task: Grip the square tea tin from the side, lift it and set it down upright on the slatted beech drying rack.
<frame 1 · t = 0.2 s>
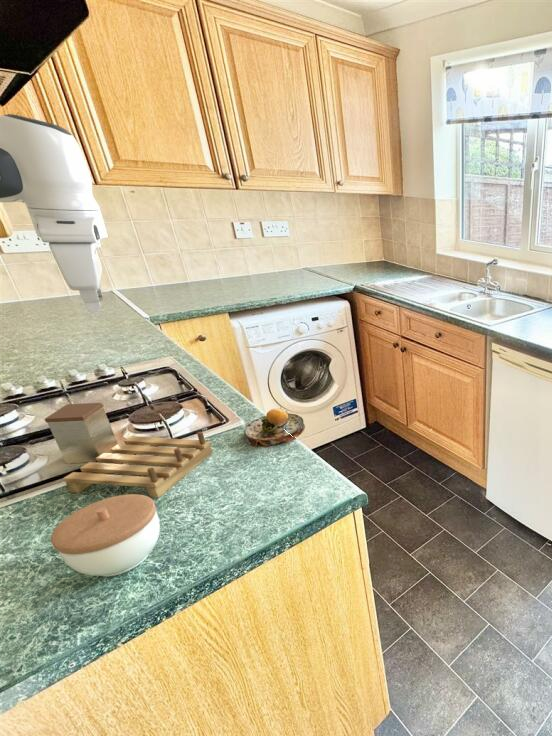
hand: (96, 305, 78), 29 cm above the counter, tool pointing down, fingers open, 8 cm apart
rack: (147, 471, 80), on the counter
trinket box: (124, 560, 61), on the counter
open sandwich: (276, 433, 94), on the counter
tea tin: (93, 454, 83), on the counter
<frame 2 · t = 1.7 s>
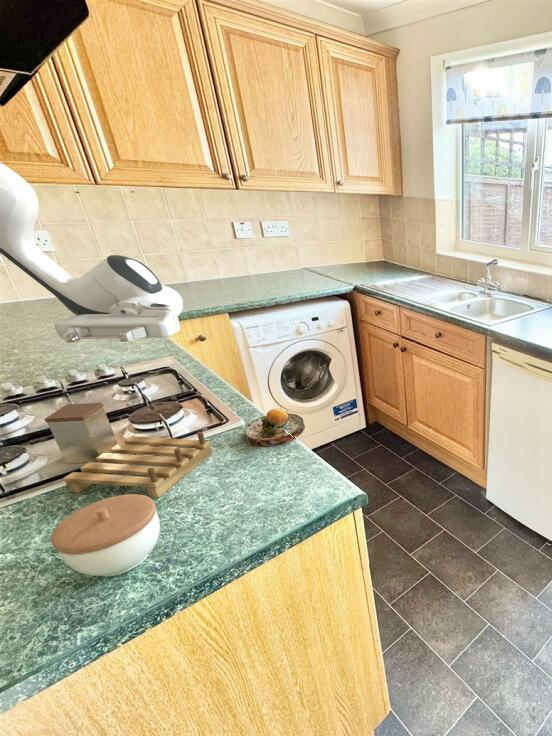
hand: (96, 338, 85), 20 cm above the counter, tool horizontal, fingers open, 8 cm apart
nothing on the counter moved.
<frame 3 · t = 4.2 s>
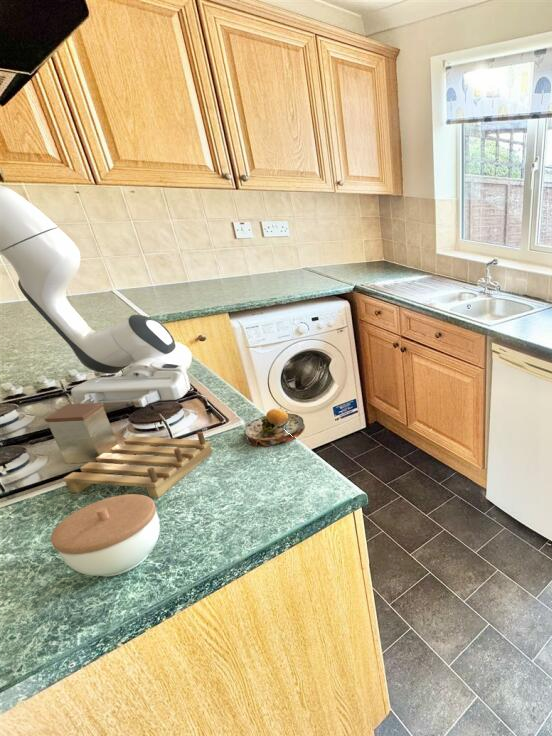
hand: (112, 405, 89), 6 cm above the counter, tool horizontal, fingers open, 8 cm apart
nothing on the counter moved.
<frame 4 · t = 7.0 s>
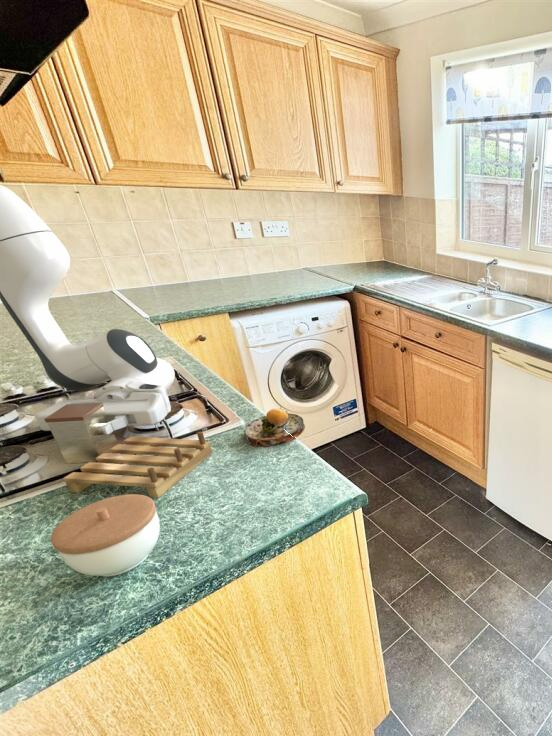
hand: (80, 433, 80), 6 cm above the counter, tool horizontal, fingers closed on tea tin, 5 cm apart
tea tin: (93, 454, 83), on the counter, touching gripper
everything else where it was.
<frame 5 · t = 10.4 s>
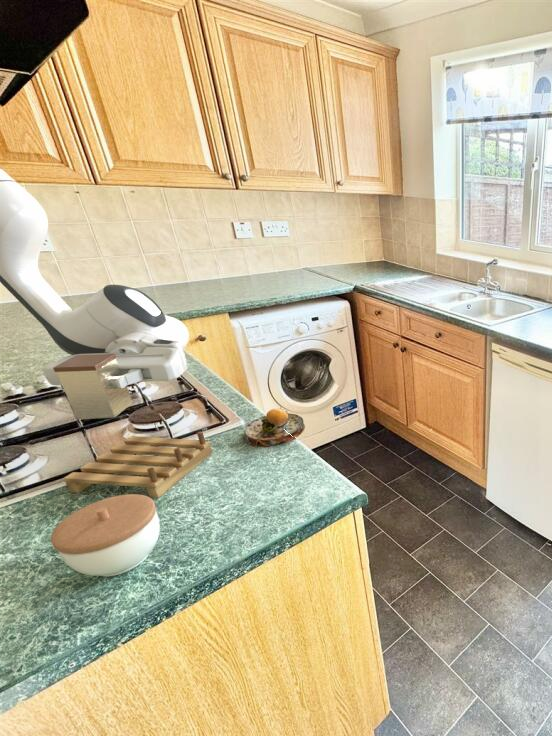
hand: (92, 385, 73), 17 cm above the counter, tool horizontal, fingers closed on tea tin, 5 cm apart
tea tin: (106, 410, 76), point 12 cm above the counter, touching gripper
everything else where it was.
when the fingers open (8 cm above the counter, at t = 14.0 s): tea tin stays where it is, resting on rack.
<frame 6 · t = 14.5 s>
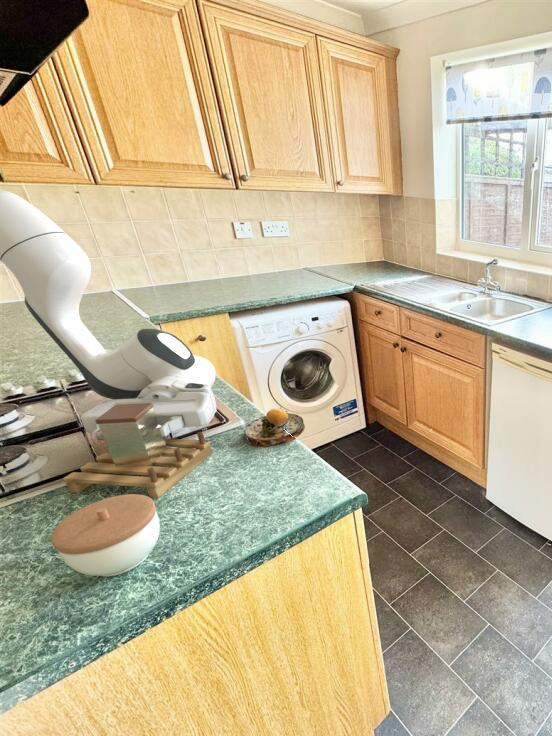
hand: (129, 435, 75), 9 cm above the counter, tool horizontal, fingers open, 8 cm apart
tea tin: (142, 457, 78), point 3 cm above the counter, touching rack
everything else where it was.
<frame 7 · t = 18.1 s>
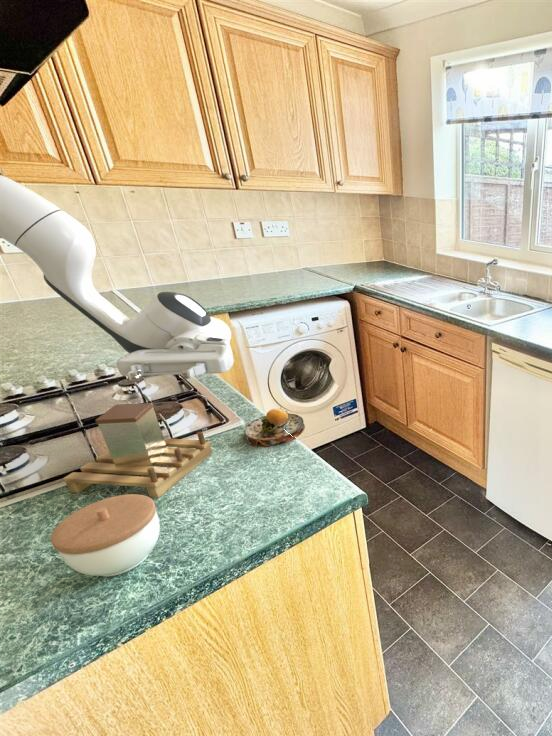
hand: (159, 376, 85), 14 cm above the counter, tool horizontal, fingers open, 8 cm apart
nothing on the counter moved.
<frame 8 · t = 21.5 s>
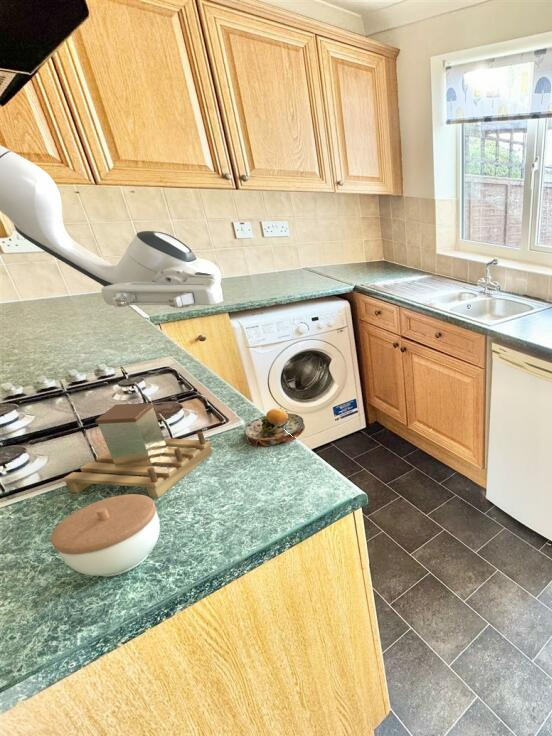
hand: (145, 302, 83), 28 cm above the counter, tool horizontal, fingers open, 8 cm apart
nothing on the counter moved.
at the end: tea tin inside the target area on the rack (0.1 cm from its centre), point 3.0 cm above the rack's base; tea tin tilted 0°; the gripper is holding nothing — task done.
